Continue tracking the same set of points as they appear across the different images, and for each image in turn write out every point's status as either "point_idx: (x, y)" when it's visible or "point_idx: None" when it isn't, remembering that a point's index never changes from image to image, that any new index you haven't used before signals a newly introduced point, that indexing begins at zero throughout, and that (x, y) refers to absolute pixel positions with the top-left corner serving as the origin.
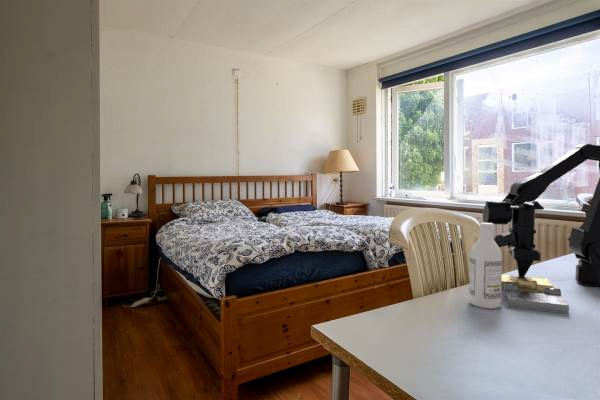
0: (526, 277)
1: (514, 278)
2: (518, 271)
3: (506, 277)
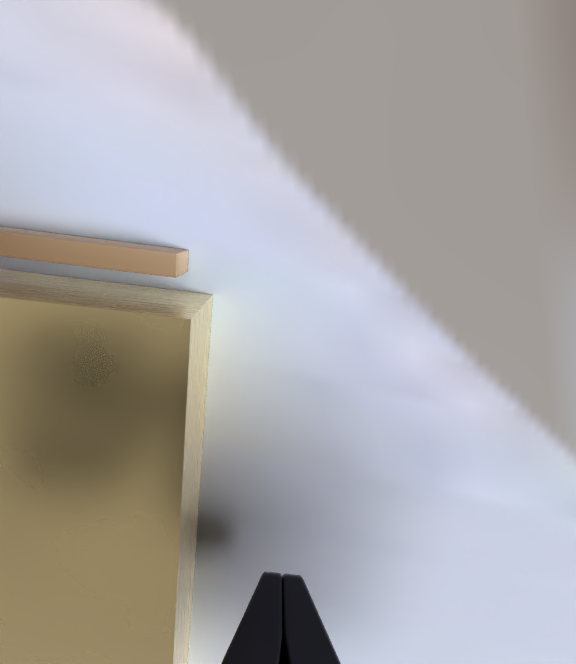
0: (152, 648)
1: (14, 504)
2: (225, 657)
3: (27, 404)
